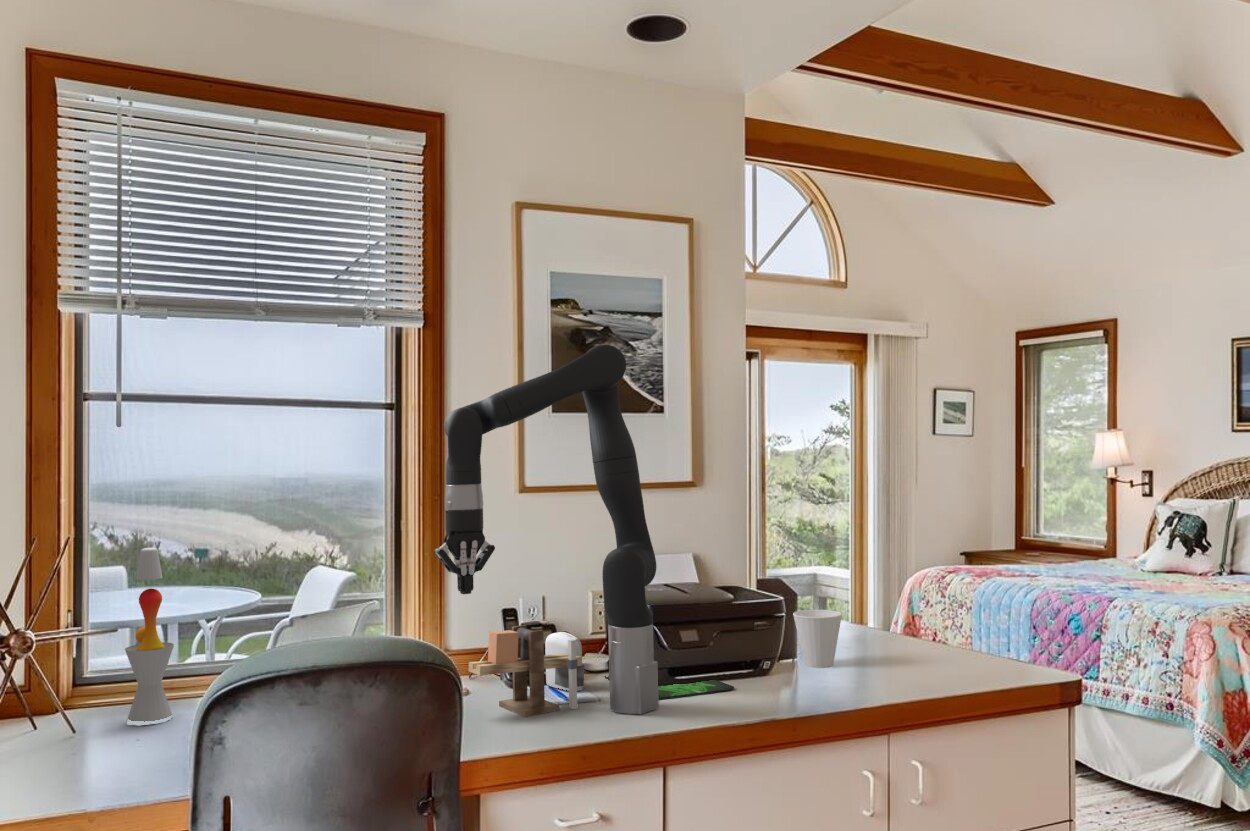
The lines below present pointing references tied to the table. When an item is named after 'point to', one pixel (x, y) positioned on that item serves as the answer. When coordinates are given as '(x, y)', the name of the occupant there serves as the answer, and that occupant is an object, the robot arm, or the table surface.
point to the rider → (503, 647)
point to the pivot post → (536, 673)
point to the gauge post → (572, 673)
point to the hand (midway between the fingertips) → (465, 593)
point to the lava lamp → (149, 648)
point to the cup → (818, 636)
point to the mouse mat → (691, 689)
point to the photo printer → (559, 645)
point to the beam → (523, 664)
